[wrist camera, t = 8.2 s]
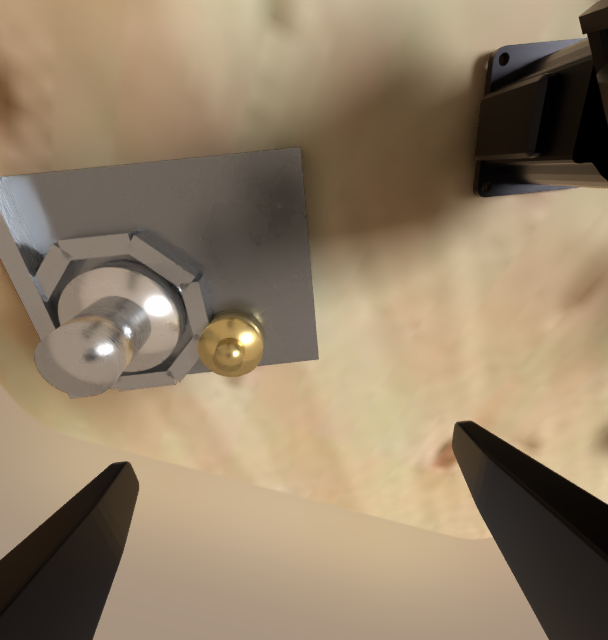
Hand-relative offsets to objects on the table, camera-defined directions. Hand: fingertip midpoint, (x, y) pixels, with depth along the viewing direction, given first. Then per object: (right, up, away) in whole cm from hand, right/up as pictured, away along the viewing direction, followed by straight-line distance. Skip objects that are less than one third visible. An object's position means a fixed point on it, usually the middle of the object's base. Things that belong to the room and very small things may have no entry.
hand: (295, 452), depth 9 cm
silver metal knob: (-10, +4, +10) cm, 14 cm away
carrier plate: (-7, +6, +10) cm, 14 cm away
